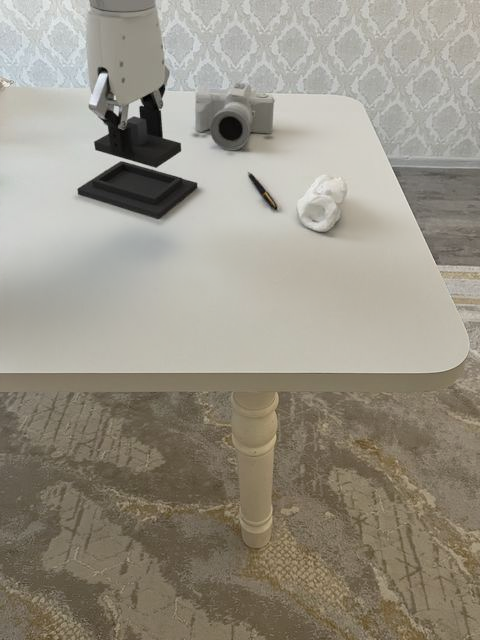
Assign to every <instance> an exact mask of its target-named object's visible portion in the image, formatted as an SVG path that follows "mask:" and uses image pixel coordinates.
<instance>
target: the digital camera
mask: <svg viewBox="0 0 480 640" xmlns="http://www.w3.org/2000/svg"><path fill="white" fill-rule="evenodd" d="M275 102H276V100H275V98H274V95H271V94H268V93H264V92H262V93H261V92H254V91H252V88H251V85H250V84H249V83H243V82H233V84H232V86H231V87H230V89H222V88H211V87H200V88H198V89H197V91H196V92H195V103H194V104H195V107H194V112H195V113H194V114H195V130H196V131H197V132H199V133H204V132H206V131H208V130H209V132H210V137H211V139H212V140H213V142H214V143H215V144H216V145H217V146H218V147H219V148H220V149H222V150H226V151H229V152H230V151H238V150H239V149H241V148H243V147H244V146H245V145H246V143H247V142H248V140H249V137H250V135H251V133H257V134H269V135H270V134H271V133H272V132H273V126H274V125H273V123H274V108H275V106H274V105H275Z"/></svg>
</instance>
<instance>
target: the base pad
mask: <svg viewBox="0 0 480 640" xmlns="http://www.w3.org/2000/svg"><path fill="white" fill-rule="evenodd" d="M197 189H198V182H197V181H196V182H195V181H192V180H189V179H186V178H183V177H180V176H176V175H173V174H169V173H166V172H162V171H159V170H155V169H151V168H148V167H144V166H141V165H138V164H134V163H130V162H126V161H121V160H120V161H119V162H117V163H115V164H114V165H113V166H110V167H109V168H108V169H106V170H104V171H103V172H101V173H100V174H98V175H97V176H94V178H92V179H90V180H88V181H87V182H85V183H84V184H83V185H80V186H79V187H78V188H77V194H78V195H80V196H83V197H86V198H90V199H92V200H96V201H99V202H103V203H106V204H109V205H112V206H115V207H118V208H122V209H126V210H129V211H131V212H135V213H138V214H141V215H145V216H148V217H151V218H155V219H158V220H160V219H161V218H162V217H163V216H165V215H166V214H167V213H168V212H169V211H171V210H172V209H173V208H174V207H176V206H177V205H178V204H180V202H182V201H183V200H185V199H186V198H187V197H188V196H190V195H191V194H192V193H194V191H195V190H197Z"/></svg>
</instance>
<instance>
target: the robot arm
mask: <svg viewBox="0 0 480 640" xmlns="http://www.w3.org/2000/svg"><path fill="white" fill-rule="evenodd" d="M89 8H90V10H89V11H86V22H85V40H86V41H85V46H86V48H85V49H86V61H87V62H86V63H87V72H88V73H87V74H88V81H89V87H90V93H91V96H90V99H89V101H88V104H87V105H88V109H89V110H90V111H91V112H92V113H93V114H94V115H96V116H97V117H98V119H100V120H101V121H102V123H103V125H104V126H107V131H108V134H109V139H110V147H111V152H112V153H113V154H115V155H119V156H122V157H126V158H131V157H133V147H132V138H131V130H130V128H129V127H126V125H127V120H128V118H129V117H128V116H129V108H130V104H133V103H134V102H136V101H138V100H140V102H141V104H142V105H139V106H138V107H139V108H138V111H139V118H142V119H146V126H147V134H150V135H153V136H157V137H161V138H164V135H163V134H164V133H163V122H162V121H163V119H162V109H163V107H164V100H163V97H164V95H165V92H166V86H167V83H168V81H169V78H170V74H171V72H170V70H169V69H168V68H169V67H167V66H166V65H165V64H166V63H165V53H164V52H165V51H164V45H163V38H162V37H163V35H162V29H161V25H160V18H159V14H158V9H157V4H156V0H89ZM115 107H118V114H117V113H115V112H114V111H115Z"/></svg>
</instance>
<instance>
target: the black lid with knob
mask: <svg viewBox="0 0 480 640" xmlns="http://www.w3.org/2000/svg"><path fill="white" fill-rule="evenodd" d="M126 127H129V128H130V130H131V138H132V147H133V157H131V158H126V157H122V156H119V155H115V154H113V153H112V152H111V147H110V139H109V133H107V134H105V135H104V136H102V137H100V138H98V139H97V140H95V141H93V145H94V150H95V151H97V152H100V153H104V154H107V155H110V156H114V157H118V158H121V159H123V160H128V161H132V162H135V163H138V164H141V165H145V166H149V167H152V168H155V169H157V168H159V167H160V166H162V165H163V164H165V163H166V162H167V161H169V160H171V159H173V157H175V156H176V155H178V154H180V153H181V152H182V143H181V142H180V141H175V140H172V139H169V138H168V139H167V138H164V137H163V138H161V137H157V136H153V135H150V134H147V126H146V119H142V118H140V116H139V117H138V116H131V117H130V118H127V125H126Z"/></svg>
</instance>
